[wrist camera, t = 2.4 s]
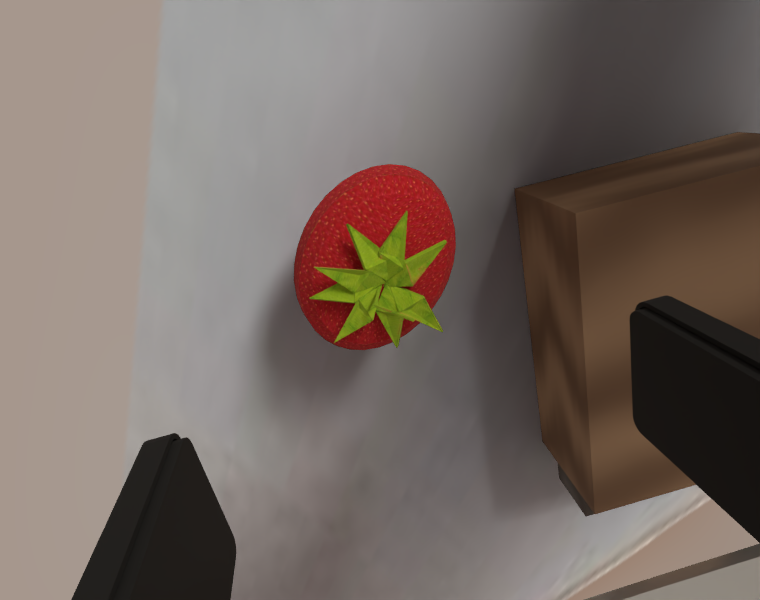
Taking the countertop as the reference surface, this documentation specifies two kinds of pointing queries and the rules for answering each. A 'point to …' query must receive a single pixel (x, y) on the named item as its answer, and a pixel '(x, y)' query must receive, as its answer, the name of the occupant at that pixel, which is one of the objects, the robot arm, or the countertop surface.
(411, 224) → the strawberry
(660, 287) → the brown wooden block
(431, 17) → the countertop surface
